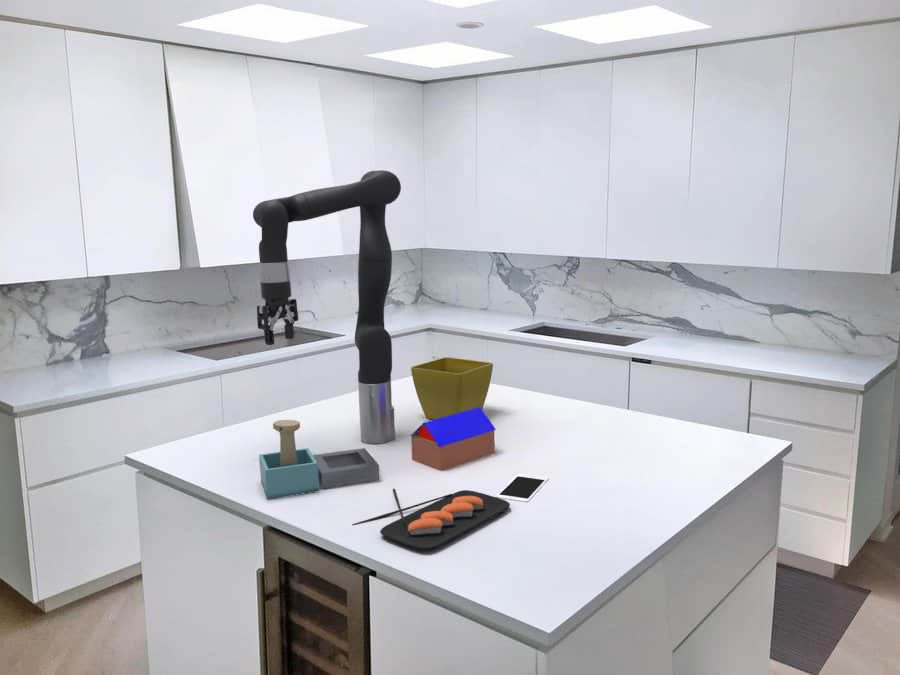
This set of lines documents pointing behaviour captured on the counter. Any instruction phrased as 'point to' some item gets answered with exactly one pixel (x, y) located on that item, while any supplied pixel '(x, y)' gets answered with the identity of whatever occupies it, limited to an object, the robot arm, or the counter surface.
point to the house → (453, 440)
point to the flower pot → (451, 385)
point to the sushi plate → (441, 519)
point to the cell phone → (522, 487)
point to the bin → (288, 474)
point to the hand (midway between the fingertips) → (280, 341)
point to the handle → (287, 441)
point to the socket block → (346, 468)
